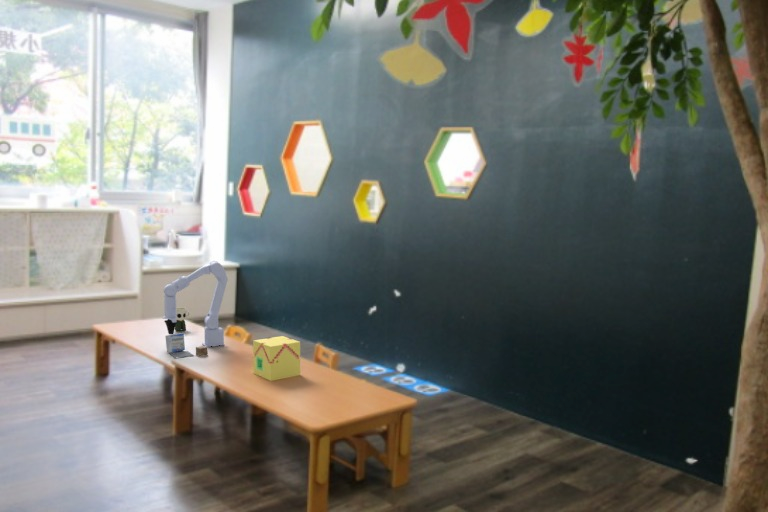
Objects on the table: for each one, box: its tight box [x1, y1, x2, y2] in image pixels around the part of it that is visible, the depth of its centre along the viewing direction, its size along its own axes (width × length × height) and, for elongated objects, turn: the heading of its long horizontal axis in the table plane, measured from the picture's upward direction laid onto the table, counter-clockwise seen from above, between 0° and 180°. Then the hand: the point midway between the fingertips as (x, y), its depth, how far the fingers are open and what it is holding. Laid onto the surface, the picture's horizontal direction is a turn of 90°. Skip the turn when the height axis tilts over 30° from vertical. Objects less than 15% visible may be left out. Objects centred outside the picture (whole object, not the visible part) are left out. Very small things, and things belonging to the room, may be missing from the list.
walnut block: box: [195, 345, 209, 357], centre depth 318 cm, size 4×4×4 cm
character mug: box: [174, 307, 190, 332], centre depth 373 cm, size 11×7×13 cm, turn 127°
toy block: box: [252, 335, 301, 382], centre depth 286 cm, size 15×15×15 cm
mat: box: [169, 350, 194, 358], centre depth 318 cm, size 9×10×1 cm
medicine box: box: [165, 332, 186, 354], centre depth 324 cm, size 8×4×9 cm, turn 143°
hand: (171, 333), depth 331 cm, fingers closed
